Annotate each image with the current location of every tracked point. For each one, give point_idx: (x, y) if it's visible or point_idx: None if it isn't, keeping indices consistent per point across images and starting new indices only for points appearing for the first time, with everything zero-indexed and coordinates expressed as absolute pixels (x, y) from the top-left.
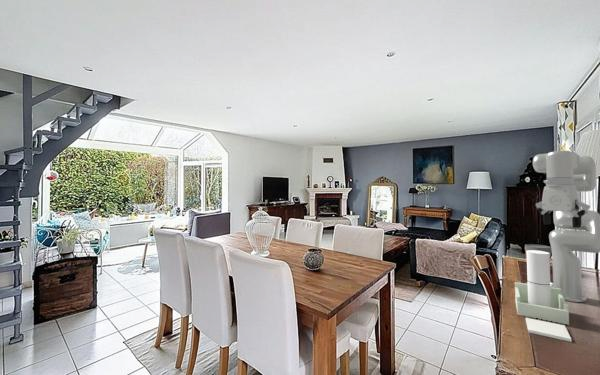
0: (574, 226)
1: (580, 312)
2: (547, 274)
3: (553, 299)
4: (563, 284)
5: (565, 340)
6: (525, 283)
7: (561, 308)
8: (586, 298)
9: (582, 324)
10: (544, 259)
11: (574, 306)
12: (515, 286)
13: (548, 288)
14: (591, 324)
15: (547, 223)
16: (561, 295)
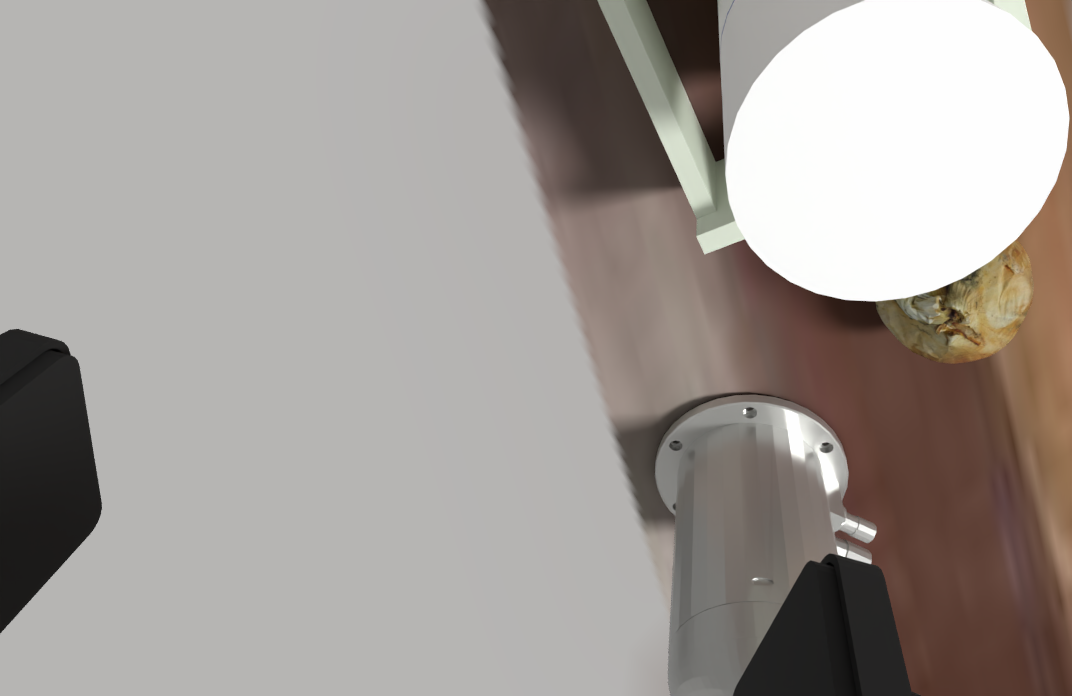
0: (2, 338)
1: (621, 248)
2: (731, 34)
3: None
4: (756, 481)
5: None
6: (986, 312)
7: (660, 56)
8: (658, 484)
9: (546, 23)
10: (760, 46)
11: (675, 330)
12: None
13: (725, 12)
14: (518, 78)
15: (783, 626)
16: (685, 188)
